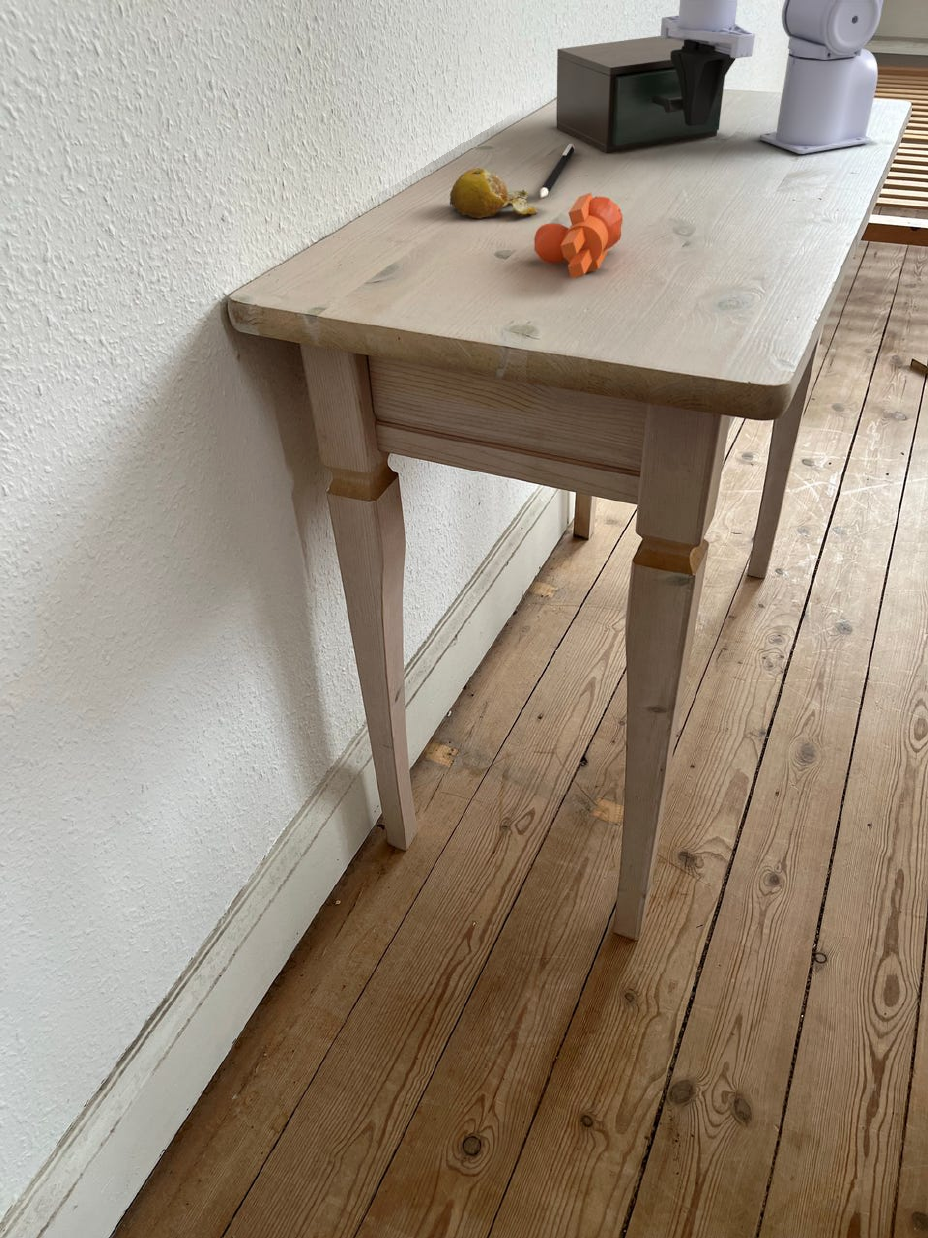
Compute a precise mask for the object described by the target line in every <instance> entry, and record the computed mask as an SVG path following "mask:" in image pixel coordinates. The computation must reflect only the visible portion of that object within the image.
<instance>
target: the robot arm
mask: <svg viewBox="0 0 928 1238" xmlns="http://www.w3.org/2000/svg"><path fill="white" fill-rule="evenodd" d="M884 1H885V0H784V2H783V5H782V10H781V23H782V24H781V25H782V27H783V31H784V32H785V34H786V35H787V37H788V38H789V39H788V45H787V49H788V53H787V61H786V67H785V74H784V79H783V86H782V92H781V100H780V105H779V113H778V119H777V126H776V131H771V132H767V133H761V134H759V137H758V138H759V140H761V141H763V142H766V143H769V144H772V145H774V146H776V147H779V148H782V149H784V150H787V151H790V152H793V153H795V154H799V155H804V154H811V153H815V152H821V151H828V150H832V149H833V150H834V149H839V148H845V147H846V148H847V147H851V146H857V145H863V144H869V143H870V142H871V137H868V136H867V133H868V127H869V122H870V117H871V113H872V109H873V104H874V99H875V94H876V89H877V84H878V78H879V77H878V73H879V71H878V64H877V60H876V57H875V56H874V54H873V53H872V52H870V51H869V50H868V49H866V48H863V47H865V45H867V44H868V42H869V41H871V39H872V37H873V36H874V34H875V33H876V31H877V29H878V26H879V23H880V20H881V17H882V16H881V15H882V10H883V4H884ZM737 7H738V0H679V7H678V15H672V16H665V17H662V18H661V23H660V24H661V26H660V27H661V28H660V35H659V36H660V38H662V39H670V38H671V39H674V40H678V41H682V42H684V46H682V49H679V50H673V51H671V56H670V58H671V60H672V62H673V65H674V67H675V70H676V73H677V76H678V79H679V84H680V88H681V94H682V101H683V109H684V117H685V123H686V124H687V125H689V126H696V125H703V124H707V121H708V119H709V116H710V113H711V110H712V107H713V104H714V101H715V98H716V95H717V93H718V90H719V88H720V85H721V83H722V81H723V79H724V77H725V78H726V75H727V73H728V72H729V70H730V69H731V67H732V65H733V64H734V62H735V61H736V60H737V59H743V58H750V57H753V53H754V45H755V37H756V34H755V33H752V32H749V31H748V30H745V28H743V27H741V26H739V25H738V24H737V23H736V17H737V10H738V9H737Z"/></svg>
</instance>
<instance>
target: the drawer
mask: <svg viewBox="0 0 928 1238" xmlns="http://www.w3.org/2000/svg"><path fill="white" fill-rule="evenodd" d="M725 81H726V76H725V77H724V79H723V81H722V83H721V85H720V88H719V90H718V93H717V95H716V98H715V101H714V104H713V107H712V110H711V113H710V116H709V119H708V121H707V124H703V125H696V126H689V125H687V124H686V123H685V117H684V109H683V101H682V94H681V88H680V84H679V79H678V76H677V73H676V70H675V67H671V68H664V69H657V70H650V71H642V72H635V73H628V74H620V75H616V77H615V90H614V110H613V130H612V144H613V145H615V146H621V145H627V144H634V143H640V142H646V141H653V140H659V139H665V138H672V137H678V136H684V135H691V134H697V133H703V132H709V131H716V130H717V131H719V130H720V124H721V123H720V122H721V115H722V106H723V99H724V88H725Z"/></svg>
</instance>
